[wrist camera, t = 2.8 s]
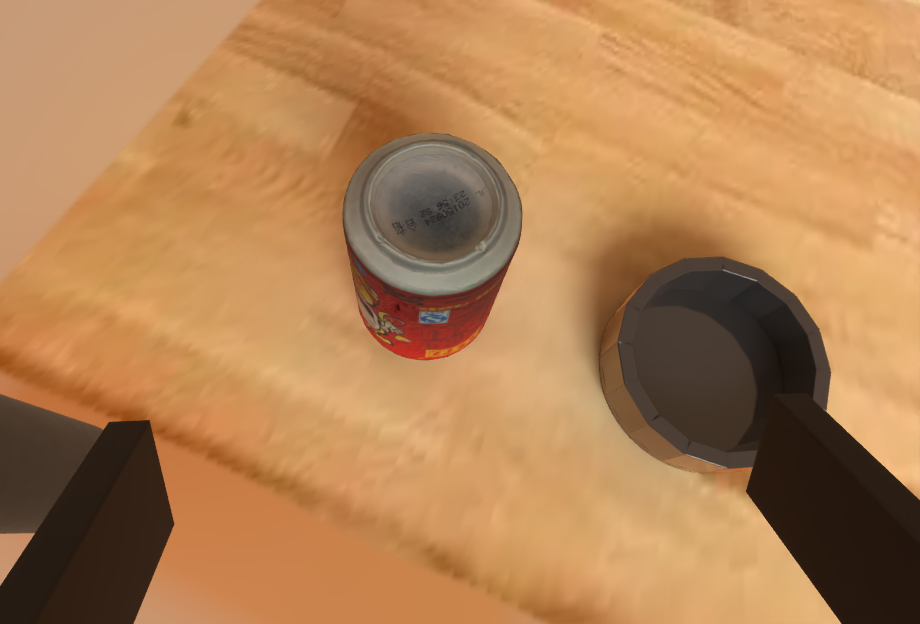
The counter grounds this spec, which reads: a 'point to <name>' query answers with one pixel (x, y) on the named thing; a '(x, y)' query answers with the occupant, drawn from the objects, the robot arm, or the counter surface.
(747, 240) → the counter surface
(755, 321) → the holder
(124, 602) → the robot arm
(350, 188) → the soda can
